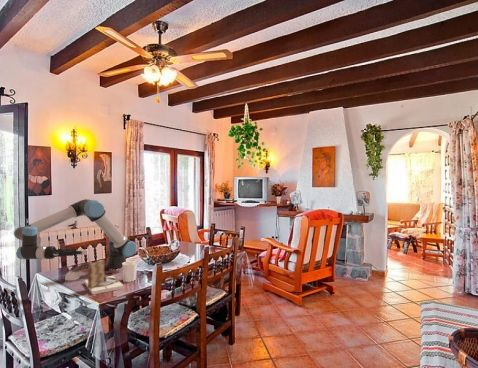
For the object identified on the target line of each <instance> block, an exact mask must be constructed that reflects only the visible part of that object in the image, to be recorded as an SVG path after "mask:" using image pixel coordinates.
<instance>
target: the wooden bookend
mask: <svg viewBox="0 0 478 368" xmlns="http://www.w3.org/2000/svg"><path fill="white" fill-rule="evenodd" d="M105 261H106V260H105V259H101V260H97V261H95V262H94V261H93V262H91V263H92V264H89V265H87V266H88V267H87V268H88V271H87V280H88V288H92V287H94V286H107V285H111V284H113V283H115V278H116V277H115V278H111V277H108V276H107V275H105ZM88 288H87V289H88Z"/></svg>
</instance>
